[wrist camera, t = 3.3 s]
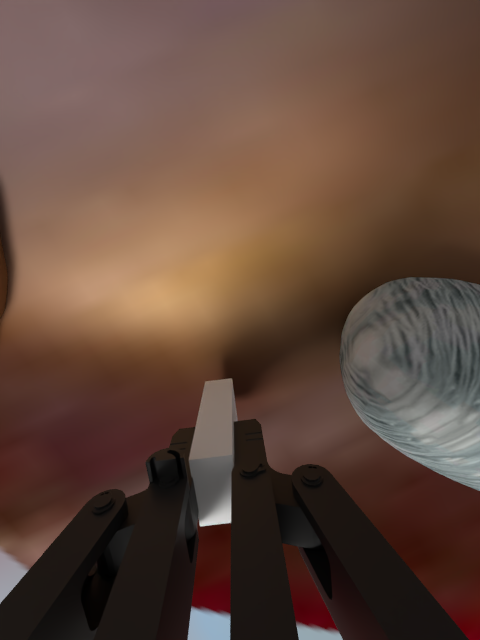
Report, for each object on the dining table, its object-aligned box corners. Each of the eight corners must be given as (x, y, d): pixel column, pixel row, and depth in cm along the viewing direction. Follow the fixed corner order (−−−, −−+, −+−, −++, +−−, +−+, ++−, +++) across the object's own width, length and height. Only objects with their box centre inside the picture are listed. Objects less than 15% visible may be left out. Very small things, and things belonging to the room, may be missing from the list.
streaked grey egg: (647, 365, 15) (916, 581, 7) (477, 442, 21) (524, 613, 13) (425, 211, 17) (449, 254, 9) (321, 323, 22) (277, 412, 14)
